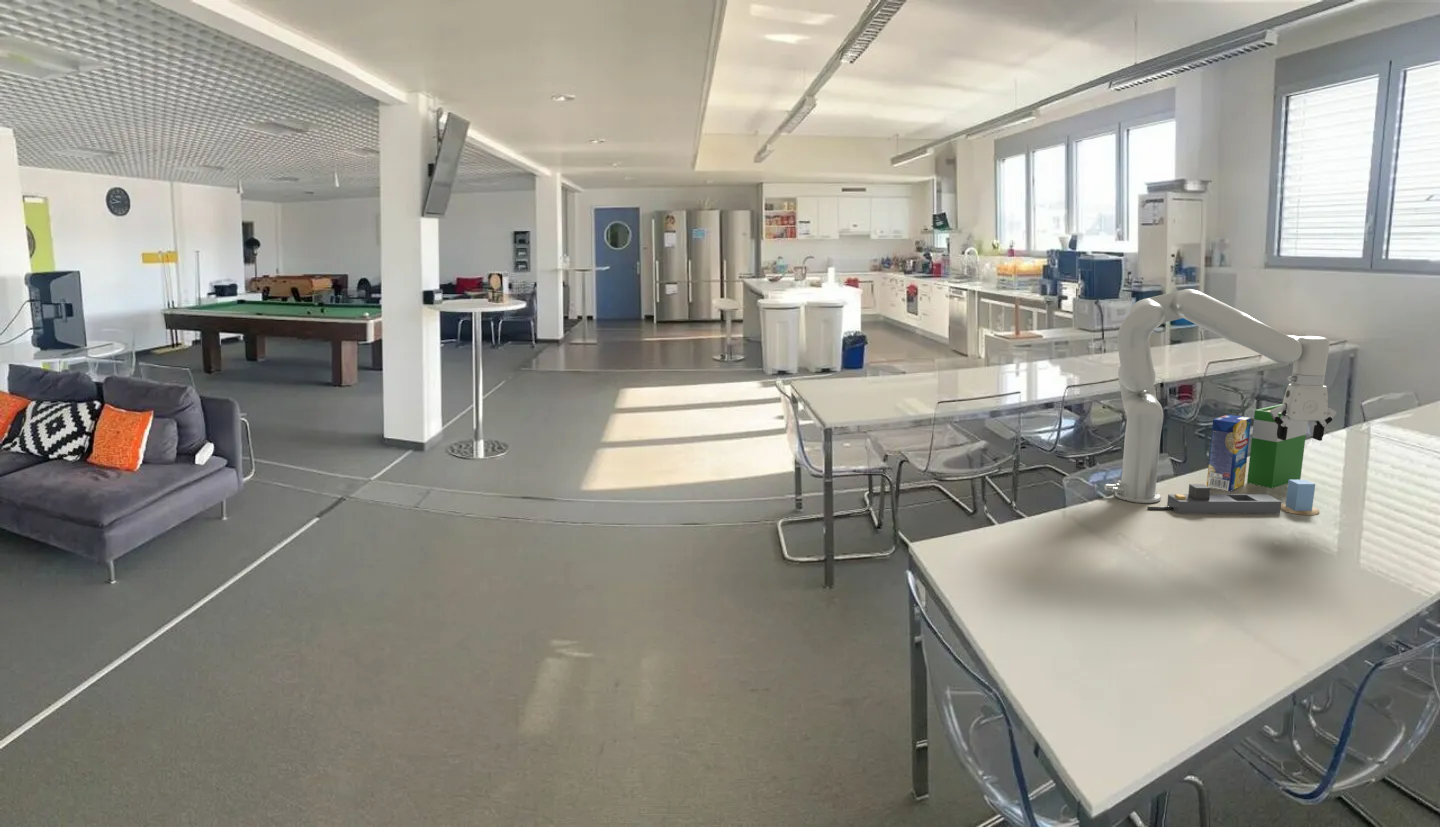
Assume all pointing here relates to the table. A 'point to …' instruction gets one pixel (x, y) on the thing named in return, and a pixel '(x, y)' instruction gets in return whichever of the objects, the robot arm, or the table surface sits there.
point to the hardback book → (1275, 451)
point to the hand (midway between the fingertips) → (1299, 439)
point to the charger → (1300, 495)
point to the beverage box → (1228, 452)
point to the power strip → (1220, 502)
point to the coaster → (1286, 509)
